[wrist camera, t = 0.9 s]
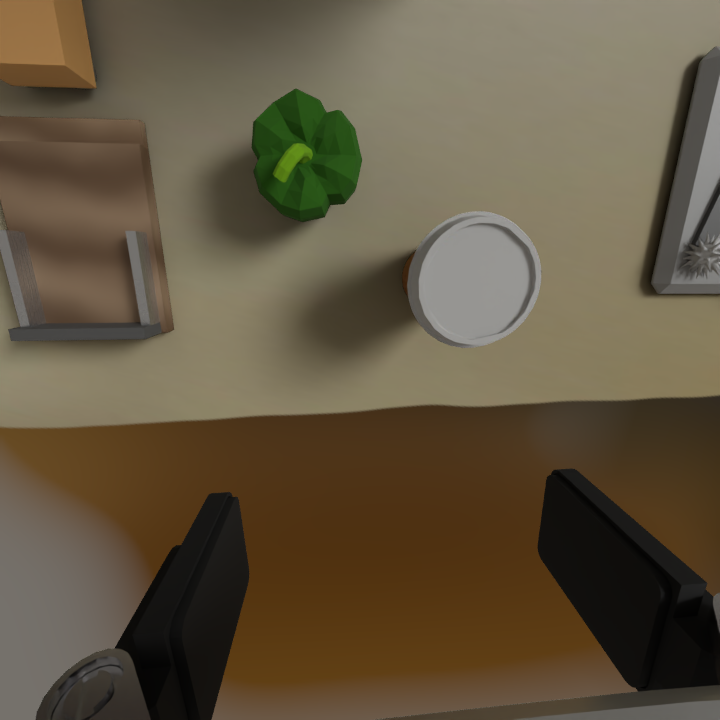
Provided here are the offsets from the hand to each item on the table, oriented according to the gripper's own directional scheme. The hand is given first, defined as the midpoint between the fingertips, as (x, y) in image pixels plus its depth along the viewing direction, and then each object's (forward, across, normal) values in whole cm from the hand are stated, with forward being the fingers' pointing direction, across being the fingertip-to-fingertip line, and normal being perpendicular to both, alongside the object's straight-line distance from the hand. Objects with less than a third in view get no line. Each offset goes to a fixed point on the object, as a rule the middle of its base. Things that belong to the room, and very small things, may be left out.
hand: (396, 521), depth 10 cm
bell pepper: (+27, +3, -15) cm, 31 cm away
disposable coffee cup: (+27, -8, -6) cm, 29 cm away
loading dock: (+27, +24, -11) cm, 37 cm away
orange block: (+27, +23, -27) cm, 44 cm away
